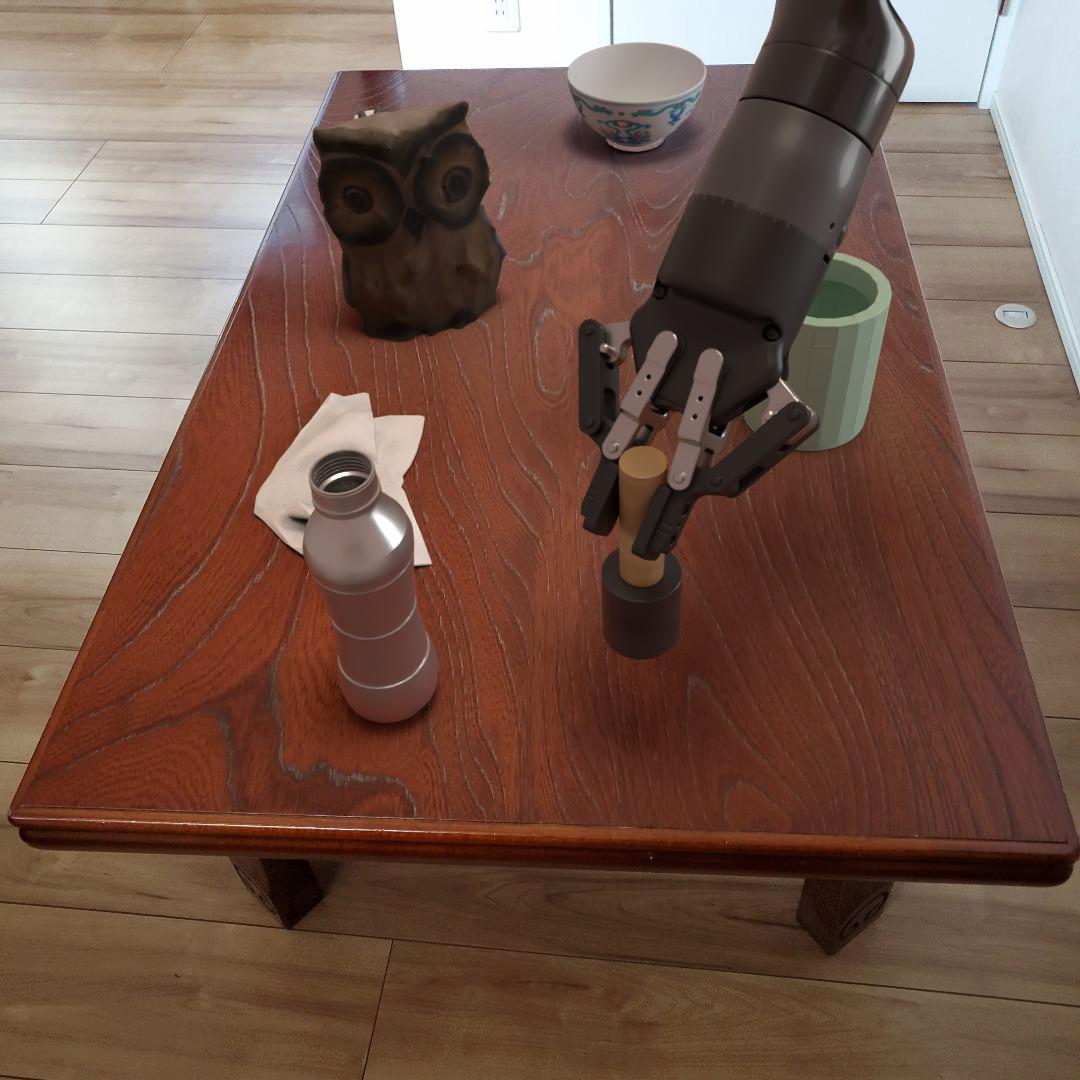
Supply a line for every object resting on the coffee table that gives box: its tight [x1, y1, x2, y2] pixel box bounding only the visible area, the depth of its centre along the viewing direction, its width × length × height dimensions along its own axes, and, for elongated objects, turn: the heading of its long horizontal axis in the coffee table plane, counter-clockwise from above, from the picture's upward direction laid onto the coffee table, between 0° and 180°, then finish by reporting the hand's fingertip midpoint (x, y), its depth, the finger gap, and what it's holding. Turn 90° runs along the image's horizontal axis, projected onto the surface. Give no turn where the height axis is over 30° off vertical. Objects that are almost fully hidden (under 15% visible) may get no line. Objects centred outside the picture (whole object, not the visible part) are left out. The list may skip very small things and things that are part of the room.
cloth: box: [253, 392, 433, 567], centre depth 87 cm, size 26×14×2 cm, turn 4°
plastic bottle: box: [302, 449, 439, 724], centre depth 67 cm, size 6×7×20 cm
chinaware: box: [566, 41, 707, 147], centre depth 123 cm, size 15×15×8 cm
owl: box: [312, 100, 508, 342], centre depth 98 cm, size 13×13×20 cm
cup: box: [742, 252, 893, 452], centre depth 88 cm, size 10×10×12 cm
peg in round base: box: [600, 445, 683, 661], centre depth 60 cm, size 4×4×13 cm
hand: (620, 543), depth 57 cm, fingers closed on peg in round base, 2 cm apart
